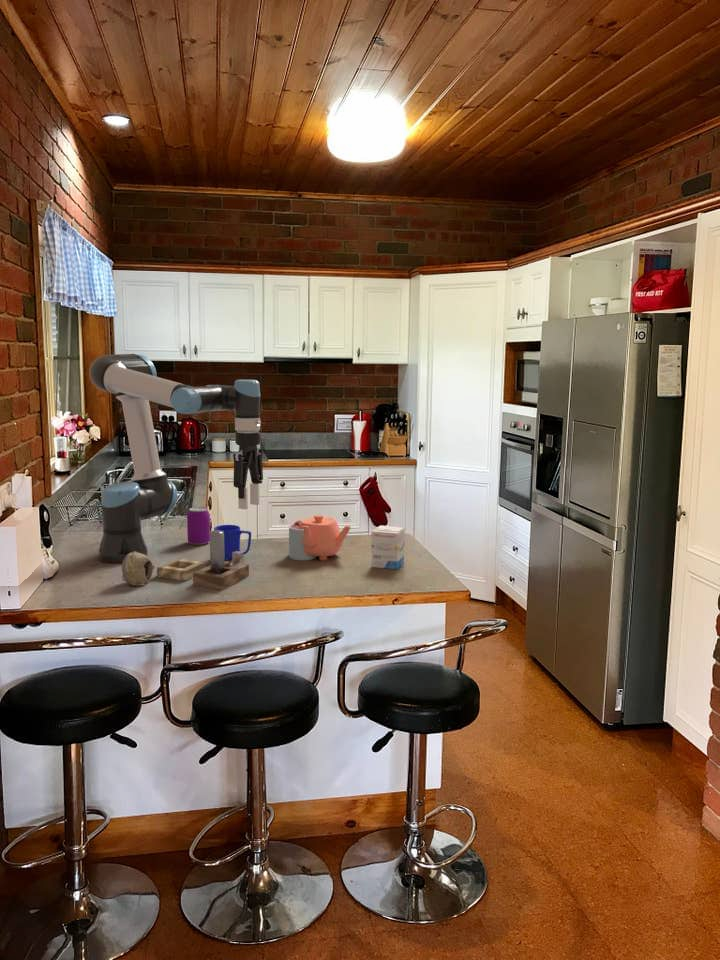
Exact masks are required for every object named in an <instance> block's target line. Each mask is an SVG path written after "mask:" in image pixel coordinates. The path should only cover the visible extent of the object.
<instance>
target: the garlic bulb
mask: <svg viewBox="0 0 720 960" xmlns="http://www.w3.org/2000/svg"><path fill="white" fill-rule="evenodd" d="M154 569H155V565H154V564H153V562H152V560H151V558H150V557H149V556H148V555H147V556H146V555H144V554H141V553H138V552H135V551H134V552H133V553H129V554H128V555H127V556H126V557H125V558H124V560H123V563H121V572H122V576H121V580H122V581H123V582H126V583H128V584H130V585H131V586H146V585H147V584H148V583H149V582H150V580H151V579H152V576H153V571H154Z"/></svg>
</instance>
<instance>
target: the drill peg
mask: <svg viewBox="0 0 720 960" xmlns="http://www.w3.org/2000/svg"><path fill="white" fill-rule="evenodd" d="M209 553H210V554H209V555H210V556H209V557H210V559H209V561H210V564H209V565H211V573H214V574H223V573H225V561H226V560H224V531H221V530H214V529H213V530H210V541H209Z"/></svg>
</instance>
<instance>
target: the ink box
mask: <svg viewBox="0 0 720 960" xmlns="http://www.w3.org/2000/svg"><path fill="white" fill-rule="evenodd" d="M405 530H406V528H405V527H401V526H400V527H398V526H389V525H379V526H377V527H376V528H374V529H373V530H371V567H372V568H379V569H388V570H389V569H390V570H399V568H401V566H402V565H403V564H404V563H405V536H406V535H405V532H406V531H405Z"/></svg>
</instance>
